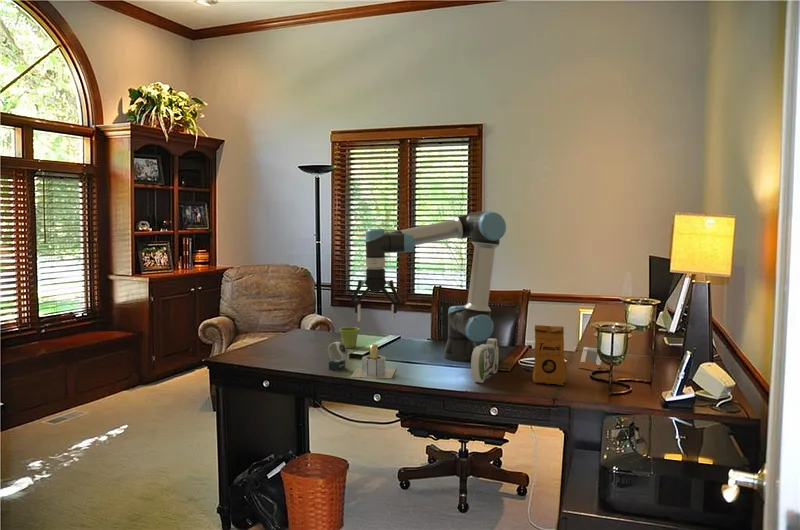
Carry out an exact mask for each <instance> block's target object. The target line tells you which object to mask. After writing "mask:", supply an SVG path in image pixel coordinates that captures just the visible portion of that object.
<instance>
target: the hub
mask: <svg viewBox="0 0 800 530" xmlns="http://www.w3.org/2000/svg"><path fill="white" fill-rule="evenodd" d="M386 358H387V357H386V356H384V355H380V354H378V359H370V354H369V355H364V356H362V358H361V368H362V374H365V375H375V376H376V375H382V374H385V368H386Z"/></svg>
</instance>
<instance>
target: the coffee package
mask: <svg viewBox="0 0 800 530" xmlns="http://www.w3.org/2000/svg"><path fill="white" fill-rule="evenodd" d="M564 332H565V331H564V326H559V325H556V326H555V325H554V326H553V325H537V324H535V325H534V344H535V345H534V352H533V353H534V355H533V357H534V366H533V371H532V372H533V373H532V380H533V382H534V383H538V384H542V383H545V384H544V385H550V384H557V385H556V386H561V384H563V383H564V382H565V383H566V378H567V364H566V360H565V351H564V350H565V338H564V335H565V333H564ZM565 383H564V384H565ZM564 384H563V385H564Z"/></svg>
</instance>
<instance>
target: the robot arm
mask: <svg viewBox="0 0 800 530" xmlns="http://www.w3.org/2000/svg"><path fill="white" fill-rule="evenodd" d="M506 229H507V224H506V221H505V219H504V217H503V216H502V215H501V214H500V213H497V212H494V211H492V210H489V211H488V210H487V211H481V210H480V211H473V212H469V213H467V214H464V215H459V216H455V217H454V218H453V219H451V220H446V221H441V222H436V223H432V224H431V223H430V224H425V225H420V226H415V227H409V228H406V229H405V228H404V229H401V230H395V231H386V230H385V229H383V228H381V229H380V228H372V229H371V228H369V229H367V230H366V231H365V239H364V240H365V241H364V242H365V267H366V270H365V280H362V279H359V280H358V281H357V286H356V289H355V291H354V293H353V295H352V297H351V299H350V301H349V303H350V304H353V305H354V313H356V314H357V322H358V323H359V322H361V319H362V315H361V313H362V311H361V304H360V303H361V301H362V300H363V299H364V298H365V296H367V294H368V293H369V292H373V293H374V292H378V293H379V292H382V294H384V295H385V296H386V298H387V299H388V300H389V301H390V302H391V323H394V322H395V314H397V312H398V305H401V304H402V300H401V298H400V296H399V293H398V291H397V290H396V288H395V285H394V280H393V279H390V280H386V269H385V267H386V254H388V253H389V254H390V253H391V254H392V253H397V254H398V253H411V252H413V251H414V249H415V246H419V245H423V244H424V245H425V244H429V243H433V242H438V241H444V240H448V239H454V238H456V239H458V240H461V239H469V238H470V239H471V241H470V242H471V244H472V245H473V247H474V248H473V255H472V262H471V263H472V265H471V272H470V273H471V274H470V279H469V280H470V282H469V288H468V295H467V296H468V297H467V302H466V304H464V305H453V306H450V307H449V308H448V313H447V342H446V344H445V348H444V350H443V358H445V359H447V360H451V361H459V362H465V361H466V362H467V361H470V362H471V358H472V353H473V350H474V348H475V347H476V346H477V345H476V342H483V341H485V340H486V341H487V339H489V338H491V337H490V336H491V335H492V333H493V331H494V321H493V319H492V318H491V314H492V310H491V308H490V306H489V300H490V299H489V298H490V290H491V282H492V277H493V276H492V273H493V267H494V259H495V252H496V249H497V248H498V247H499V246H500V242H501V241H500V240H501V239H502V238H503V236H505V234H506V231H507V230H506ZM385 231H386V232H385ZM364 285H365V286H366V289H365V290H364V291H363V293H361V295H360V296H359V297H358V295H359V293H360V290H361V288H362V287H363V286H364ZM386 285H387V286H388V287H389V288H390V290H391V292H392V293H393V296H394V297H393V296H392V294H390V292H389V291H388V290H387V288H386V287H385V286H386ZM357 297H358V298H357Z"/></svg>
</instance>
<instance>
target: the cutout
mask: <svg viewBox="0 0 800 530" xmlns="http://www.w3.org/2000/svg"><path fill="white" fill-rule="evenodd" d="M498 366H499V346H498V339H497V338H491V337H488V338H487V339H486V343H481V344H480V345H476V347H475V348H474V350H473V353H472V358H471V360H470V371H471V376H472V380H473V382H474V383H480V384H483V383H484V381H485V377H486V376H488V375H489V374H491V375H494V374H496V373H498V368H499V367H498Z"/></svg>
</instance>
